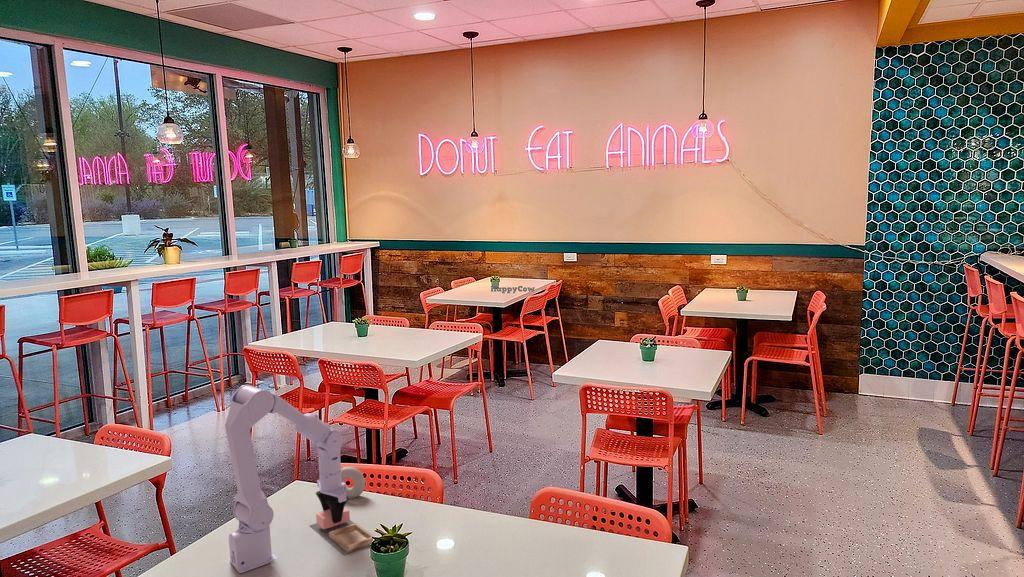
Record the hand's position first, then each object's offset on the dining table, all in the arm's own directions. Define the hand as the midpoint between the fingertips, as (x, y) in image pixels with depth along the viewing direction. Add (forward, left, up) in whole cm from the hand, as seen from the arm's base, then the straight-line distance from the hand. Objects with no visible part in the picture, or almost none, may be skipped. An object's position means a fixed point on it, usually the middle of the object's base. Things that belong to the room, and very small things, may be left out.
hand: (333, 518), depth 185 cm
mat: (0, -6, -3) cm, 7 cm away
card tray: (0, -11, -2) cm, 11 cm away
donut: (+12, +15, -3) cm, 19 cm away
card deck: (0, 0, -1) cm, 1 cm away
